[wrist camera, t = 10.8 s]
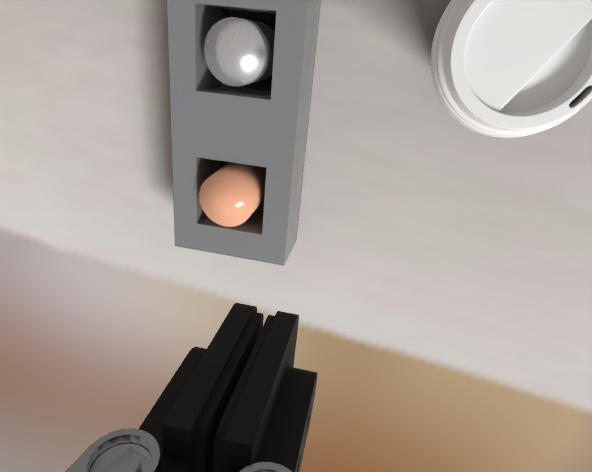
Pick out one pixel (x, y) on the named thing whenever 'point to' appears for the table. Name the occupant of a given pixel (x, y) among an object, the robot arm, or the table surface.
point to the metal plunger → (240, 51)
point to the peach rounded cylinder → (233, 193)
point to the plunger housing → (240, 126)
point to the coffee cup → (513, 63)
